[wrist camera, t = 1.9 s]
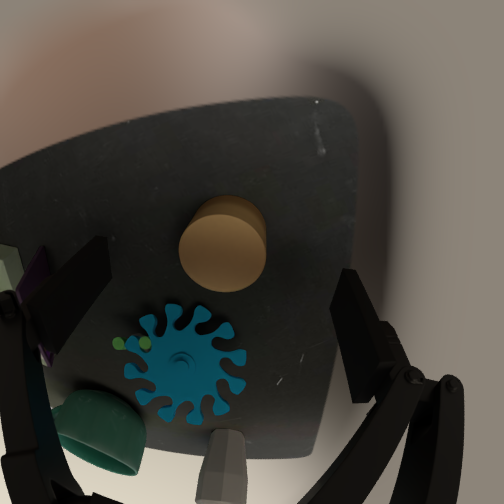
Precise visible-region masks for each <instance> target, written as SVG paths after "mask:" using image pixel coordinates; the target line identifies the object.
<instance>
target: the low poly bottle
mask: <svg viewBox="0 0 504 504" xmlns="http://www.w3.org/2000/svg"><path fill="white" fill-rule="evenodd" d="M247 483H248V478H247V466H246V452H245V438H244V435H243V434H242V432H240V431H235V430H231V429H215V430H214V431H213V432H212V434H211V437H210V440H209V444H208V447H207V450H206V454H205V457H204V460H203V463H202V467H201V470H200V473H199V479H198V485H197V492H196V498H195V502H196V503H197V504H246V499H247Z"/></svg>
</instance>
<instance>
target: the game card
mask: <svg viewBox="0 0 504 504" xmlns="http://www.w3.org/2000/svg"><path fill="white" fill-rule="evenodd" d="M48 276H50V271H49V266H48V262H47V257H46V253H45V248H44V246H40V247H39V249H38V251H37V252H36V254H35V255H34V257H33V259H32V260H31V262H30V264H29V265H28V267H27V269H26V271H25V272H24V274H23V276H22V278H21V279H20V281H19V283H18V285H17V287H16V289H15V292H16V295H17V297H18V300H19V303H20V304H21V303H22V302H23V301H24V299H25V298H26V297H27V296H28V295H29V294H30V293H31V292H32V291H33V290H34V289H35V288H36V287H37V286H39V284H40V283H41V282H42V281H43V280H44V279H45V278H47V277H48ZM38 347H39V349H40V353H41V358H42V359H43V360H44V361H45V362H46V364H47V366H48V367H52V364H53V360H54V355H55V354H54V353H52V352H49V351H47V350H45V348H44V345H43V343H42V341H41V343H40V344H39V345H38Z"/></svg>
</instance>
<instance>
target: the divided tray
mask: <svg viewBox="0 0 504 504" xmlns="http://www.w3.org/2000/svg"><path fill="white" fill-rule="evenodd" d="M23 274H24V270H23V266H22V263H21V259H20V256H19V252H18V248H16V247H11V246H7V245H2V244H0V292H2V291H5V290H13V291H15V289H16V287H17V285H18V283H19V281H20V279H21V278H22V276H23ZM54 356H55V355H54ZM41 360H42V364H43V365H46V366H47V364H46V362H45V361H44V360H43V359H42V358H41Z"/></svg>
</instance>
